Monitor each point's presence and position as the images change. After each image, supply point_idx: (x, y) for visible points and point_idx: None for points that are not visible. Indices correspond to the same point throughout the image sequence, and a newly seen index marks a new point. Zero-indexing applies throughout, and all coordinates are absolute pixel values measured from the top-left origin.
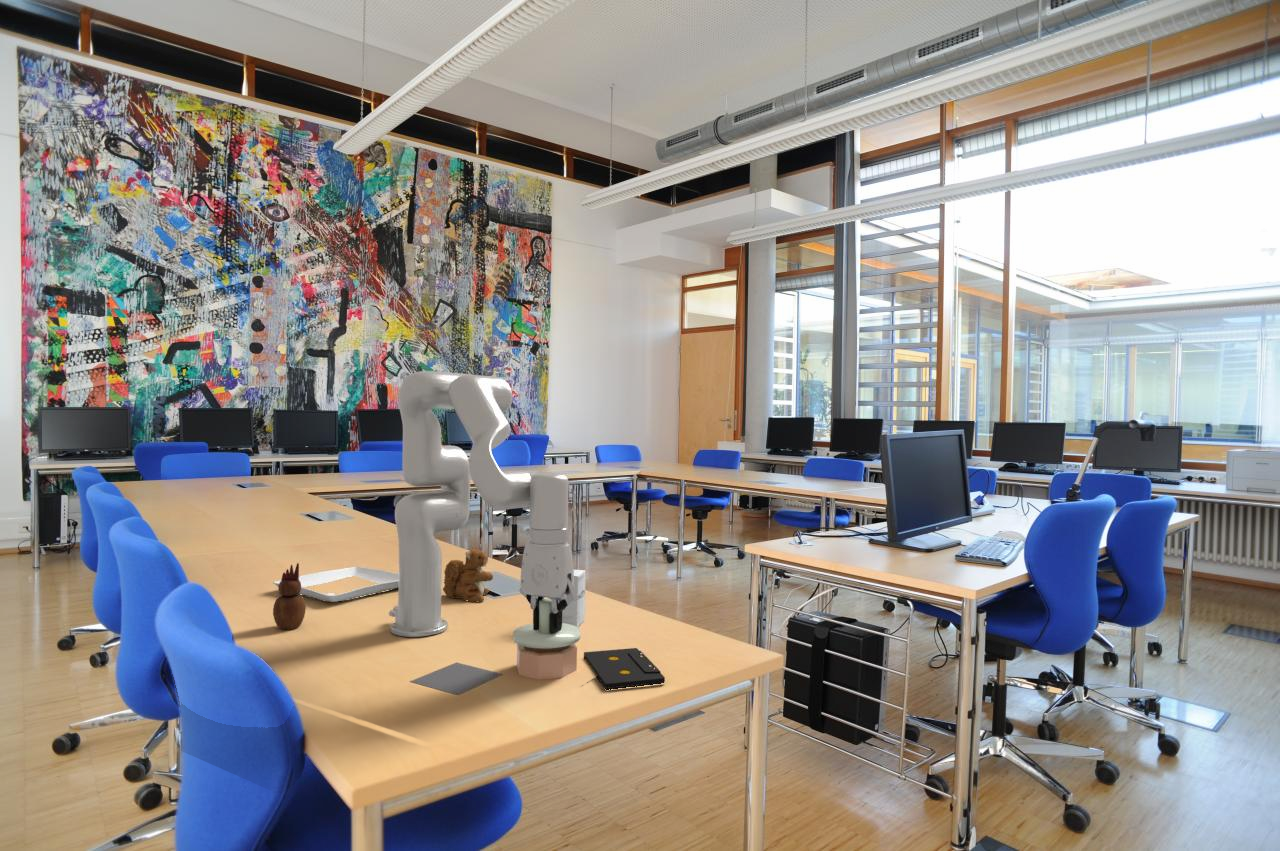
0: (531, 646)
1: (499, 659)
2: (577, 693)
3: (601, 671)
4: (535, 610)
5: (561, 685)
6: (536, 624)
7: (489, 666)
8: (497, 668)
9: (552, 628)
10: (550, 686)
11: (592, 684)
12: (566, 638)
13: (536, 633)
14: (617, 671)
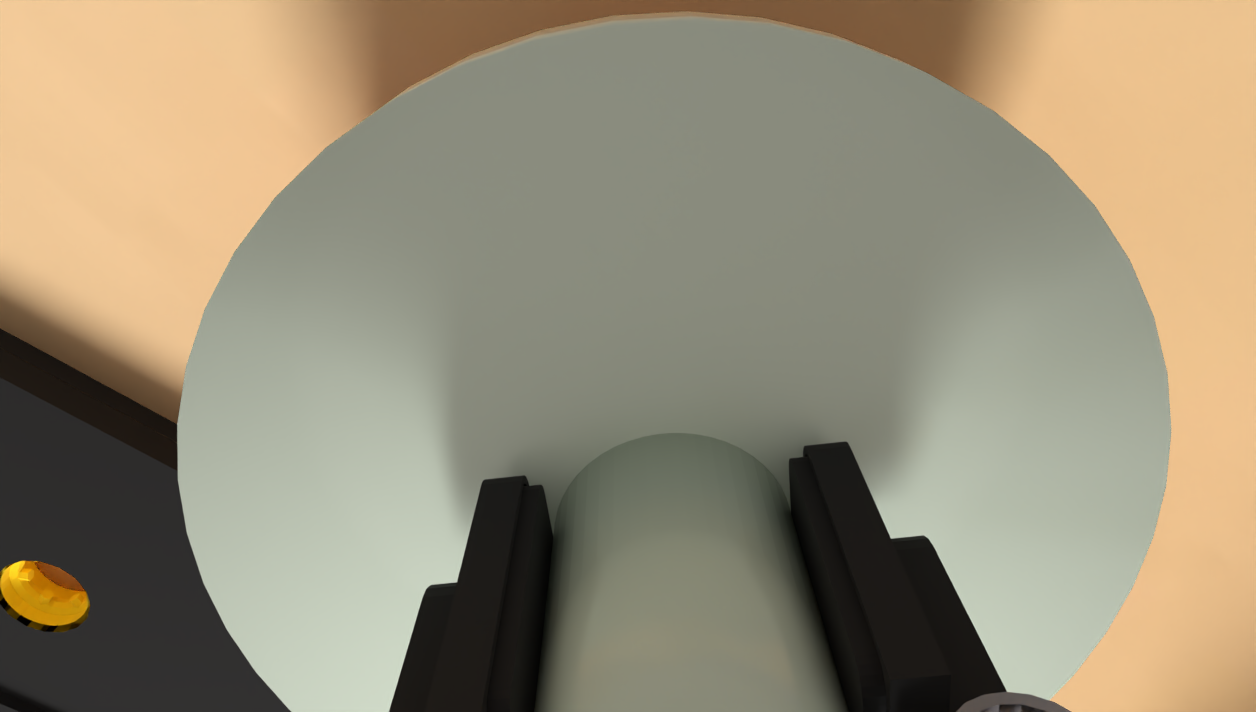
0: (512, 40)
1: (1238, 263)
2: (33, 94)
3: (169, 499)
4: (897, 683)
5: (294, 147)
6: (808, 504)
7: (1222, 62)
8: (1111, 74)
9: (477, 533)
10: (345, 60)
11: (132, 332)
12: (224, 484)
13: (737, 391)
14: (86, 570)
